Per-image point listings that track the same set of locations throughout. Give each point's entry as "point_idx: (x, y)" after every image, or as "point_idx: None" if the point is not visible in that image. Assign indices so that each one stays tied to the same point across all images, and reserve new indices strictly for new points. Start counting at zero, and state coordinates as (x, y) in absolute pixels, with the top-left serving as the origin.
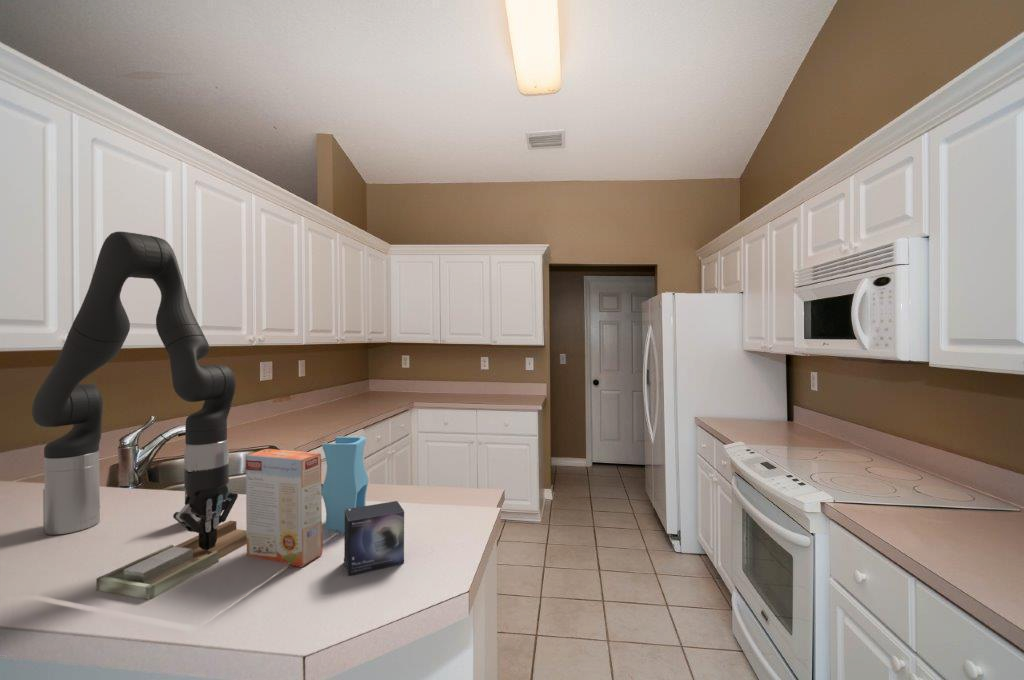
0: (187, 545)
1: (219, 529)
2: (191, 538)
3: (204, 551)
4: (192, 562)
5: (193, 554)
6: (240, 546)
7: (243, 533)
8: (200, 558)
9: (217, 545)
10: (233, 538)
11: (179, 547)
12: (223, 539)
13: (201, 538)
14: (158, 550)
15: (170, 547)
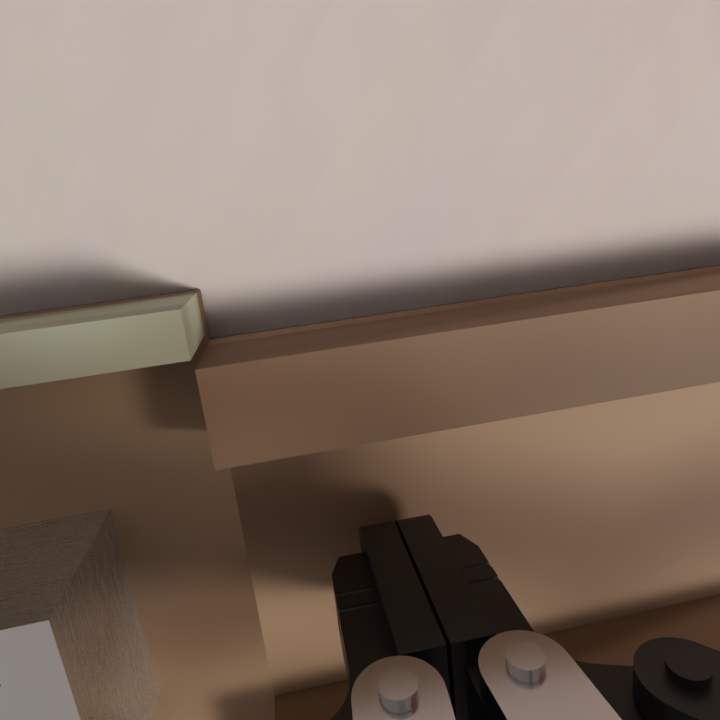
0: (292, 450)
1: (684, 386)
2: (413, 341)
3: (372, 524)
4: (153, 713)
5: (292, 499)
6: None
7: None
8: (269, 622)
9: (494, 511)
10: None
11: (66, 705)
12: (600, 441)
13: (346, 669)
14: (6, 340)
15: (149, 363)
